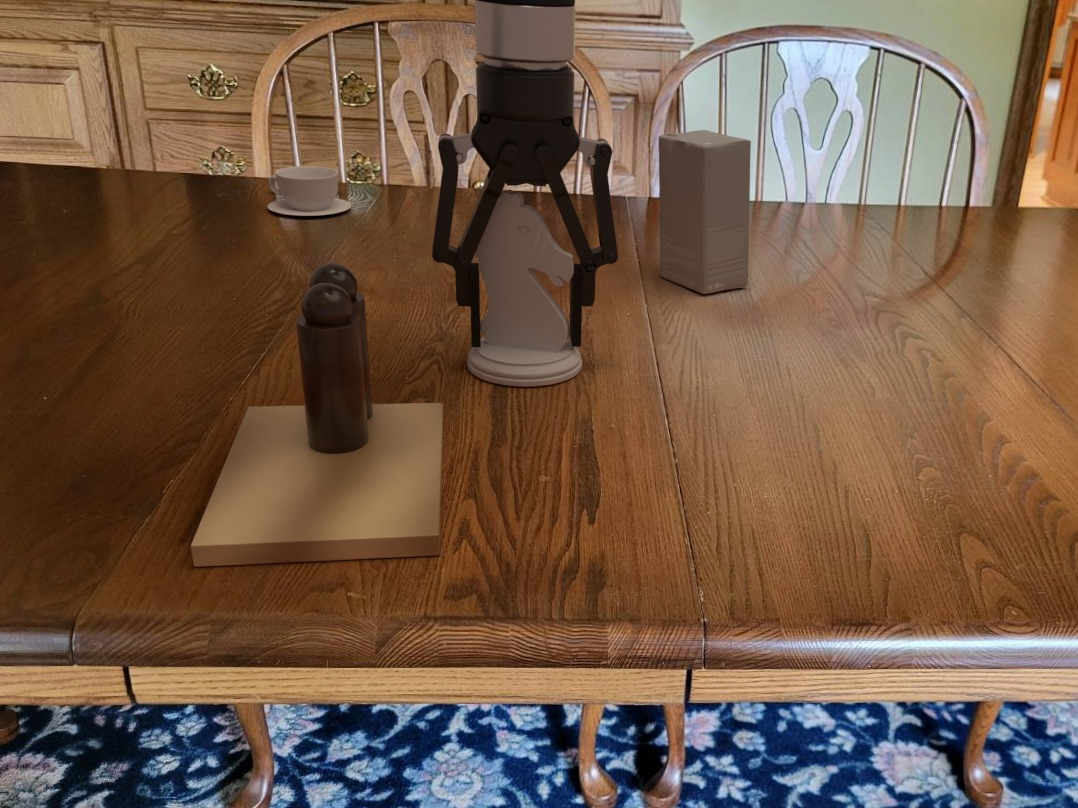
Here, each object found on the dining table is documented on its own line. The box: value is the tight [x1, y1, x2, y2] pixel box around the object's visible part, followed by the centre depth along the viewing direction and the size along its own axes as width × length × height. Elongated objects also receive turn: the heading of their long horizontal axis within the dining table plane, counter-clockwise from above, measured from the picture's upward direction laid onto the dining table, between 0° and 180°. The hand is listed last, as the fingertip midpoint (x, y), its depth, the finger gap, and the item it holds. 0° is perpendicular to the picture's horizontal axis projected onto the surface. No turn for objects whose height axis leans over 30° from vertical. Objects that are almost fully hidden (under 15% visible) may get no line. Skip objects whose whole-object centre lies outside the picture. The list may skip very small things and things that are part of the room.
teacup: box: [267, 165, 352, 217], centre depth 137 cm, size 10×10×5 cm
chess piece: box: [466, 189, 583, 388], centre depth 92 cm, size 10×10×15 cm
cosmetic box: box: [658, 129, 752, 295], centre depth 117 cm, size 8×7×16 cm
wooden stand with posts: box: [190, 262, 444, 568], centre depth 71 cm, size 14×20×13 cm
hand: (526, 341), depth 94 cm, fingers closed on chess piece, 8 cm apart
